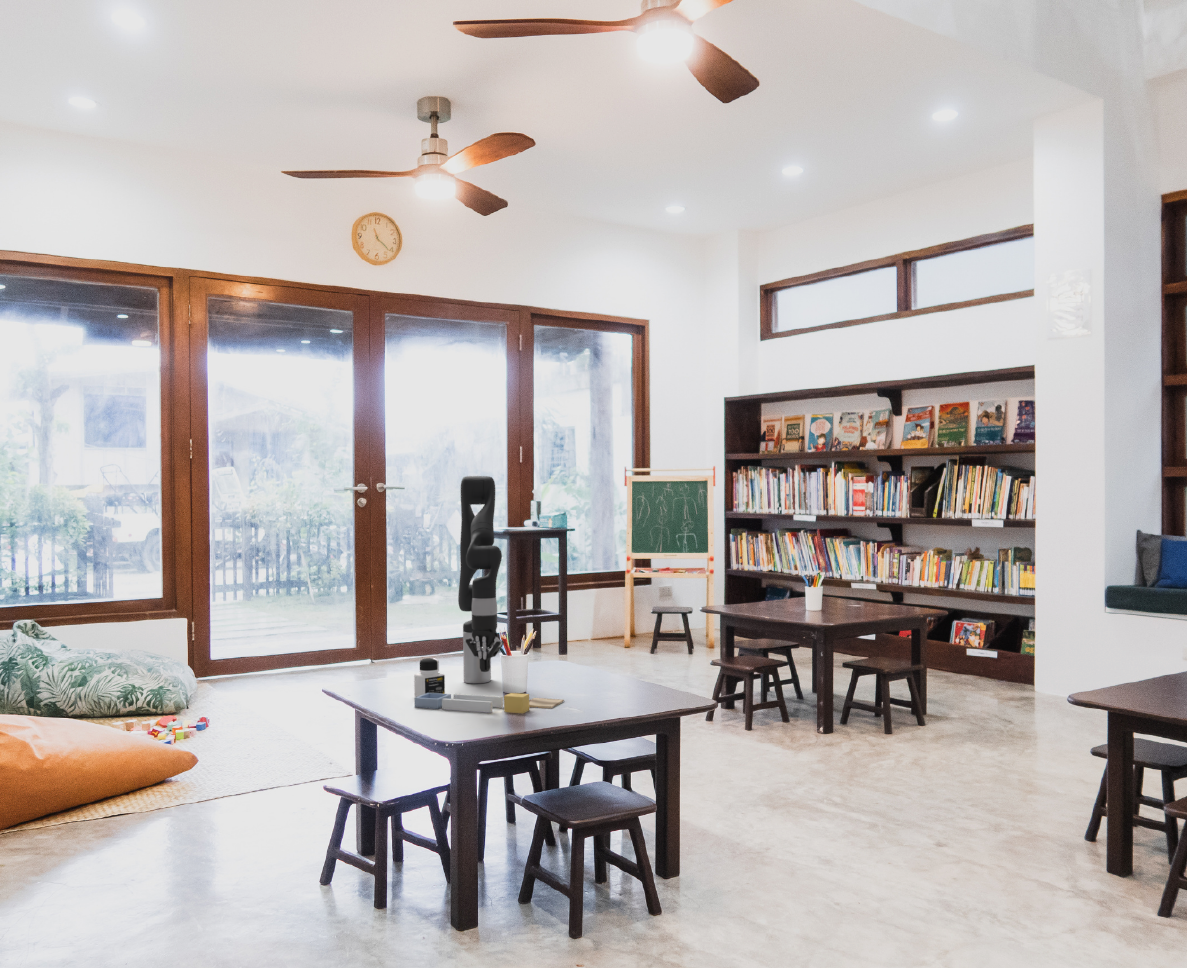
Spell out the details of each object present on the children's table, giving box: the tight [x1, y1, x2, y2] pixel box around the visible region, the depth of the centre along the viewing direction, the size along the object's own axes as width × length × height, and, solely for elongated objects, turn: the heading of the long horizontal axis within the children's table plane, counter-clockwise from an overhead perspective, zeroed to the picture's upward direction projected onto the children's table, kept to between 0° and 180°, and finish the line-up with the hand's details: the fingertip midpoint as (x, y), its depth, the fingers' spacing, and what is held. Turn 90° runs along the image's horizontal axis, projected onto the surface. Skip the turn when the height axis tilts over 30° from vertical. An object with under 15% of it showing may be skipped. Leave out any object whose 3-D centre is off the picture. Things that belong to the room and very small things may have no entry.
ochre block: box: [503, 692, 530, 714], centre depth 275 cm, size 4×6×5 cm
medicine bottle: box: [413, 657, 446, 698], centre depth 297 cm, size 7×7×12 cm
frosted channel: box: [441, 693, 504, 714], centre depth 280 cm, size 16×8×3 cm, turn 70°
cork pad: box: [529, 697, 565, 709], centre depth 284 cm, size 10×10×1 cm
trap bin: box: [414, 693, 452, 710], centre depth 284 cm, size 8×8×3 cm
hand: (484, 671), depth 278 cm, fingers closed
